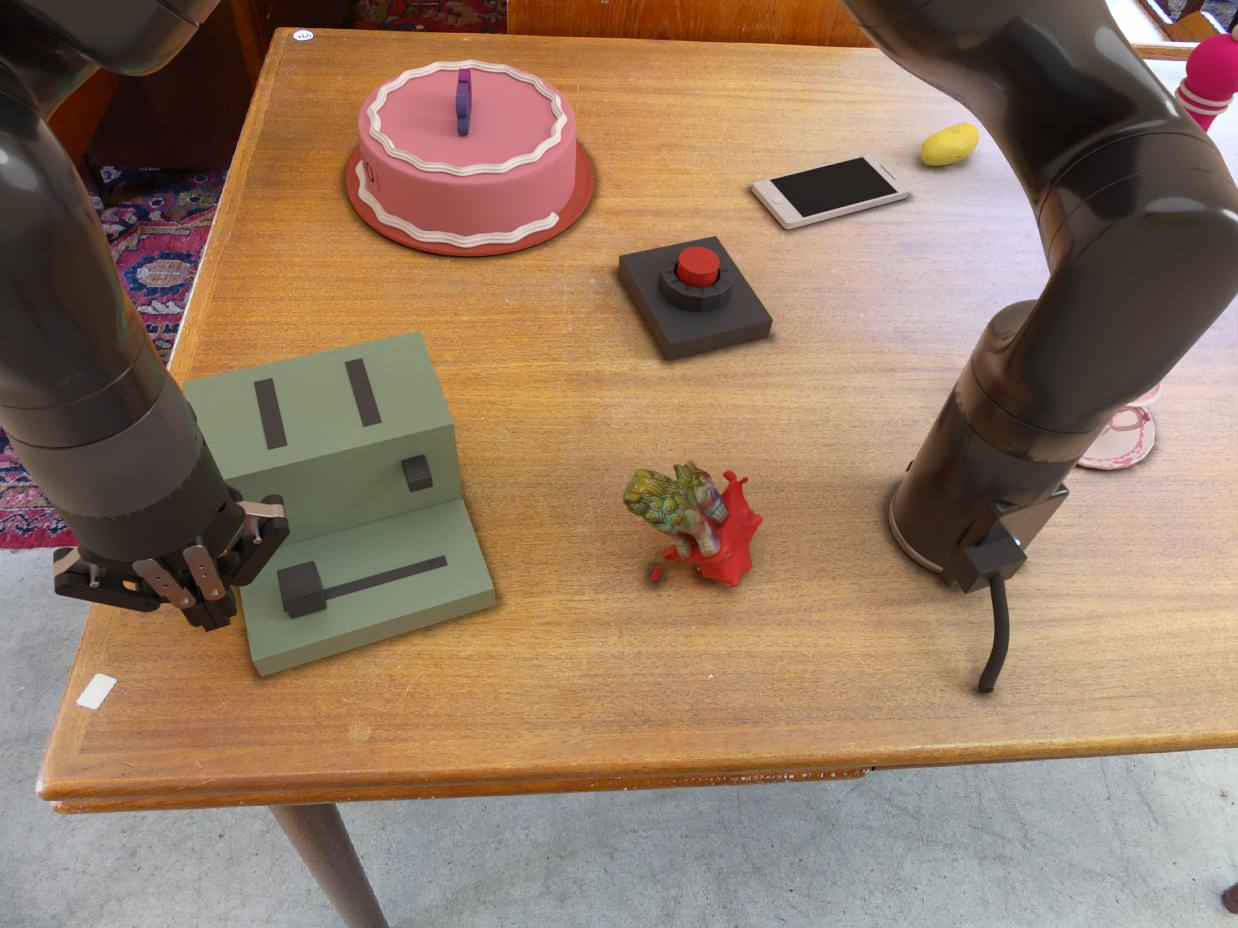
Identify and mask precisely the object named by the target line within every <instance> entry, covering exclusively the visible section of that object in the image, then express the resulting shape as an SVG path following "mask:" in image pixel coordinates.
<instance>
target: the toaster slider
mask: <svg viewBox="0 0 1238 928" xmlns="http://www.w3.org/2000/svg"><path fill="white" fill-rule="evenodd" d="M277 577H278V582H279V587H280V592H281V597H282V601H283V603H284V606H285V608H286V610H287V612H288V614H289V617H290V618H291V619H293V618H296V617H300V616H303V615H306V614H310V613H313V612H317V611H320V610H324V609H327V603H326V599H325V595H324V590H323V586H322V581H321V578H320V575H319V573H318V570H317V567H316V565H315V562H314V561H310V562H306V563H302V564H299V565H295V566H292V567H288V568H284V569H281V570H277Z"/></svg>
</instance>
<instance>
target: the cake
mask: <svg viewBox="0 0 1238 928" xmlns="http://www.w3.org/2000/svg"><path fill="white" fill-rule="evenodd" d="M576 122H577V121H576V117H575V113H574V110H573V108H572V105H570V103H569V101H568V100H567V98H566V97H565V96H564V95H563V94H562V92H560V91H559V90H558V89H557V88H556V87H555V86H554V85H552V84H551V83H550V82H548V81H546V80H545V79H542V78H541V77H539V76H537V75H536V74H533V73H531V72H528V71H525V70H522V69H521V68H520V69H519V68H517V67H512V66H511V65H509V64H503V63H501V64H500V63H493V62H485V61H481V60H477V59H467V60H466V59H465V60H457V61H436V62H432V63H431V64H426V65H422V66H418V67H415V68H412V69H409V70H408V69H407V70H405V71H403V72H401V73H399V74H396V75H395V76H393V77H391V78H389V79H387V80H385V81H384V82H382V83H381V84H379V85H378V86H377V87H375V88H374V89H373V90H372V91H371V92H370V94H369V95H368V96H367V97H366V98H365V100H364V101H363V103H362V105H361V107H360V109H359V112H358V116H357V136H358V143H359V144H358V146H357V147H356V148H355V150H354V151H353V152H352V155H351V156H350V159H349V161H348V163H347V168H346V175H345V186H346V192H347V195H348V199H349V201H350V203H351V205H352V207H353V208H354V210H355V212H357V213H356V214H358V215H359V217H361V218H362V220H363V221H364V222H365V223H366V224H368V225H369V226H370V227H371V228H372V229H374V230H375V231H377V232H379V234H381V235H383V236H385V237H386V238H388V239H391V240H393V241H395V242H396V243H398V244H402V245H404V246H407V247H410V248H412V249H416V250H419V251H424V252H429V253H434V254H438V255H445V256H456V257H457V256H458V257H482V256H483V257H485V256H493V255H501V254H507V253H513V252H517V251H521V250H524V249H528V248H530V247H534V246H536V245H538V244H541V243H544V242H546V241H548V240H550V239H552V238H554V237H556V236H557V235H559V234H561V233H562V232H563V231H565V230H566V229H568V228H570V226H571V225H572V224H574V223H575V222H576V221H577V220H578V219H579V218H580V217H581V215H582V214H583V213H584V211H585V210H586V209H587V207H588V205H589V204H590V201H591V199H592V196H593V193H594V187H595V176H594V170H593V165H592V163H591V160H590V158H589V156H588V153H587V152H586V151H585V149H584V147H583V146H582V145H581V144H580V143H579V142H578V141H577V123H576Z"/></svg>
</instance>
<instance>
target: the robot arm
mask: <svg viewBox="0 0 1238 928" xmlns="http://www.w3.org/2000/svg"><path fill="white" fill-rule="evenodd" d="M221 1H222V0H0V426H1V428H2V430H3V431H4V433H5V434H6V437H7V438H8V440H9V443H10V446H11V447H12V449H13V451H14V453H15V455H16V457H17V459H18V461H19V462H20V464H21V465H22V467H23V468H24V469H25V471H26V472H27V473H28V475H29V476H30V477H31V479H32V480H33V482H34V483H35V484H36V485H37V487H38V488H39V490H40V491H41V493H43V495H44V497H46V500H48V502H49V503H50V505H51V506H52V507H53V509H55V510H54V511H56V512H57V514H58V515H59V516H60V517H61V519H62V521H63V522H64V523H65V525H66V526H67V527H68V529H69V530H70V531H71V533H72V534H73V535H74V536H75V538H76V539H77V541H78V544H77V545H76V546H75V547H71V546H66V547H65V546H64V547H60V548H57V549H56V550H54V551H53V553H52V563H53V586H54V587H53V588H54V589H53V590H54V591H53V592H54V593H55V595H58V596H61V597H66V598H70V599H71V598H72V599H76V600H80V601H81V600H82V601H85V602H91V603H95V604H100V605H105V606H110V607H115V608H120V609H125V610H131V611H135V612H140V613H153V612H155V611H157V610H159V609H160V608H161V605H163V604H172V606H173V607H174V608H176V609H179V610H180V611H181V613H182V614H183V616H184V617H185V619H186V620H187V622H188V624H189V625H190V626H192V627H194V628H199V627H202V628H203V630H204V631H205V633H208V632H212V631H215V630H218V629H222V628H226V627H229V626H231V625H232V622H231V618H234V617H237V615H238V606H237V600H236V593H235V591H234V589H233V588H232V586H235V587H238V588H239V587H242V586H247V585H249V584H251V583H252V582H253V581H254V579H255V578H256V577H257V575H258V574H259V573H260V571H261V570H262V569H263V568H264V566H265V565H266V564H267V562H268V561H269V560H270V559H271V557H272V556H273V555H274V553H275V552H276V551H277V550H278V548H279V547H280V546H281V544H282V543H283V542H284V540H285V539H286V538H287V537H288V535H289V534H290V529H289V524H288V518H287V513H286V509H285V506H284V501H283V498H282V496H280V495H276V494H273V495H268V496H266V497H264V498H263V499H262V501H261V502H260V503H256V502H249V501H243V497H242V495H241V493H240V492H239V491H238V490H237V489H235V488H234V487H231V486H230V485H228V484H227V483H226V482H225V481H224V479H223V477H222V475H221V473H220V471H219V469H218V467H217V464H216V462H215V460H214V458H213V456H212V454H211V452H210V449H209V447H208V445H207V443H206V441H205V439H204V436H203V434H202V432H201V430H200V428H199V426H198V424H197V416H196V414H195V412H194V410H193V408H192V406H191V404H190V403H189V401H187V400H186V398H185V396H184V392H183V390H182V388H181V387H180V385H179V384H178V382H177V381H176V379H175V378H174V377H173V375H172V373H170V371H169V370H168V369H167V367H166V366H165V364H164V362H163V360H162V358H161V357H160V355H159V354H160V353H158V350H157V348H156V346H155V344H154V342H153V340H152V338H151V335H150V334H149V332H148V329H147V328H146V325H145V323H144V321H143V319H142V315H141V314H140V313H139V311H138V309H137V307H136V304H134V302H133V300H132V298H131V297H130V296H129V294H128V292H127V291H126V289H125V288H124V287H123V284H122V280H121V277H120V274H119V270H118V267H117V264H116V260H115V258H114V255H113V254H114V253H113V252H112V249H111V245H110V242H109V240H108V237H107V233H106V232H105V229H104V226H103V224H102V221H101V219H100V217H99V215H98V212H97V210H96V207H95V205H94V203H93V199H92V198H91V196H90V193H89V192H88V189H87V187H86V185H85V183H84V181H83V178H82V177H81V175H80V173H79V171H78V169H77V167H76V165H75V163H74V162H73V159H72V158H71V156H70V154H69V153H68V151H67V149H66V148H65V146H64V144H63V143H62V142H61V139H60V138H59V137H58V136H57V134H56V133H55V131H54V130H53V129H52V126H51V125H50V124H49V121H50V119H51V118H52V116H53V115H54V114H55V112H56V111H57V109H58V108H59V107H60V106H61V105H62V103H64V102H65V100H67V99H68V97H70V96H71V95H72V94H73V93H74V92H75V91H76V90H77V89H79V88H80V87H81V86H82V85H84V83H85V82H87V81H88V80H89V79H90V78H91V77H92V76H94V74H96V73H97V72H98V71H99V70H100V69H104V70H107V71H108V72H112V73H115V74H118V75H121V76H126V77H127V76H128V77H144V76H148V75H151V74H154V73H156V72H158V71H159V70H161V69H163V68H164V67H165V66H166V65H168V64H169V63H170V62H171V61H172V60H174V58H175V57H176V56H177V55H178V54H179V53H180V52H181V50H183V49H184V47H185V46H186V45H187V44H188V43H189V42H190V40H191V39H192V38H193V36H194V35H195V34H196V32H197V31H198V30H199V28H200V24H204V23H205V21H206V20H207V19H208V18H209V16H210V15H211V13H212V12H213V11H214V10H215V8H216V7H217V6H218V4H220V2H221ZM836 2H837V3H838V4H839V6H840V7H841V8H842V9H843V11H844V12H845V13H846V15H848V17H849V18H850V19H851V21H852V22H853V23H854V24H855V25H856V27H857V28H858V29H859V30H860V31H861V32H862V33H863V35H864V36H866V38H867V39H868V40H869V41H870V42H871V43H872V44H873V45H874V46H875V47H876V48H877V49H879V50H880V52H882V53H883V54H884V55H885V56H886V57H887V58H888V59H889V60H890V61H892V62H893V63H895V64H896V65H897V66H899V67H900V68H901V69H903V70H904V71H905V72H907V73H909V74H911V75H912V76H913V77H915V78H917V79H919V80H921V81H922V82H923V83H925V84H927V85H928V86H930V87H932V88H934V89H935V90H938V91H939V92H941V93H943V94H944V95H946V96H948V97H949V98H951V99H952V100H954V101H956V102H958V103H959V104H960V105H962V106H963V107H964V108H965V109H966V110H967V111H969V112H970V113H971V114H972V115H973V116H974V117H975V118H976V119H977V120H978V122H980V124H981V126H983V128H984V129H985V130H986V132H987V133H988V134H989V136H990V137H991V138H992V140H993V141H994V144H996V146H997V147H998V149H999V150H1000V152H1001V154H1002V155H1003V157H1004V158H1005V160H1006V162H1007V163H1008V165H1009V166H1010V168H1011V170H1012V171H1013V174H1014V175H1015V177H1016V179H1017V180H1018V182H1019V184H1020V186H1021V188H1022V190H1023V192H1024V194H1025V196H1026V198H1027V200H1028V203H1029V205H1030V207H1031V209H1032V213H1033V216H1034V219H1035V224H1036V226H1037V230H1038V233H1039V239H1040V243H1041V246H1042V250H1043V253H1044V257H1045V261H1046V265H1047V268H1048V271H1049V278H1048V280H1047V282H1046V283H1045V286H1044V288H1043V289H1042V292H1041V293H1040V295H1039V297H1038V298H1032V299H1026V300H1021V301H1016V302H1014V303H1011V304H1009V305H1006V306H1005V307H1004V308H1001V310H999V311H998V312H997V313H995V315H993V317H992V318H991V319H990V321H988V323H987V325H986V326H985V328H984V330H983V331H982V332H981V333H982V334H981V335H980V337H979V339H978V341H977V342H976V344H975V347H974V349H973V350H972V352H971V353H970V356H969V358H968V360H967V362H966V363H965V365H964V367H963V369H962V371H961V373H960V375H959V376H958V378H957V380H956V382H955V383H954V386H953V387H952V389H951V391H950V393H949V394H948V397H947V399H946V400H945V402H944V404H943V406H942V407H941V409H940V412H939V413H938V415H937V417H936V418H935V421H934V423H932V426H931V427H930V429H929V431H928V434H927V435H926V437H925V439H924V440H923V443H922V445H921V446H920V448H919V450H918V452H917V453H916V455H915V458H914V459H913V460H911V461H910V462H909V464H908V465H907V467H906V469H905V472H904V473H906V475H905V477H904V478H903V480H902V482H901V484H900V485H899V486H898V488H897V489H896V491H895V493H894V495H893V496H892V498H891V500H890V502H889V506H888V524H889V527H890V530H891V533H892V535H893V537H894V539H895V541H896V542H897V544H898V545H899V547H900V548H901V549H902V550H903V551H904V552H905V554H907V555H908V556H909V557H910V558H911V559H912V560H913V561H914V562H916V563H917V564H918V565H920V566H922V567H923V568H925V569H927V570H929V571H931V572H933V573H936V574H938V575H939V576H940V578H942V579H943V581H944V583H945V584H946V585H947V586H949V587H952V586H955V585H958V586H959V588H960V589H961V591H962V592H963V594H964V595H968V594H972V593H973V592H977V591H980V590H982V589H986V588H989V592H990V600H991V605H992V613H993V614H992V615H993V641H992V647H991V651H990V654H989V657H988V659H987V662H986V664H985V666H984V668H983V670H982V673H981V674H980V677H979V679H978V683H977V691H978V692H979V693H980V694H990V693H993V692H994V687H995V684H996V683H997V680H998V677H999V675H1000V673H1001V671H1002V670H1003V669H1002V668H1003V666H1004V664H1005V661H1006V658H1007V655H1008V651H1009V644H1010V631H1011V630H1010V628H1011V627H1010V626H1011V625H1010V613H1009V605H1008V599H1007V592H1006V591H1007V590H1006V584H1005V581H1009V580H1010V579H1012V578H1014V576H1015V574H1016V573H1017V572H1018V571H1019V569H1020V568H1021V567H1022V566H1023V565H1024V563H1025V562H1026V561H1027V560H1028V556H1027V555H1026V553H1025V551H1026V549H1027V548H1028V547H1029V546H1030V545H1031V543H1032V542H1033V540H1035V538H1036V537H1037V536H1038V534H1040V532H1041V530H1043V528H1044V527H1045V526H1046V524H1047V523H1048V522H1049V520H1050V519H1051V518H1052V517H1053V515H1055V513H1056V512H1057V510H1058V509H1059V508H1060V507H1061V505H1062V504H1063V503H1064V502H1065V501H1066V499H1067V498H1068V497H1069V495H1070V490H1069V488H1068V487H1067V485H1066V484H1065V483H1064V481H1065V480H1066V478H1067V477H1068V476H1069V475H1070V473H1071V472H1072V471H1073V469H1074V468H1075V467H1076V466H1077V465H1078V464H1077V463H1078V462H1079V460H1080V459H1081V458H1082V456H1083V455H1084V454H1085V452H1086V451H1087V450H1088V449H1089V447H1090V446H1091V445H1092V444H1093V442H1094V441H1095V440H1096V438H1097V437H1098V436H1099V435H1100V433H1101V432H1102V431H1103V429H1104V428H1105V427H1106V426H1107V424H1108V423H1109V422H1110V420H1111V419H1112V418H1113V417H1114V416H1115V414H1116V413H1117V412H1118V411H1119V409H1120V408H1122V407H1123V406H1125V405H1127V404H1129V403H1131V402H1132V401H1134V400H1136V399H1138V398H1139V397H1141V396H1143V395H1144V394H1146V393H1147V392H1148V391H1150V390H1151V389H1152V388H1154V387H1155V386H1156V385H1157V384H1158V383H1159V382H1160V381H1161V380H1162V379H1164V378H1165V377H1166V376H1167V375H1168V374H1169V373H1170V372H1171V371H1172V370H1173V368H1174V367H1175V366H1176V365H1177V364H1178V363H1179V362H1180V361H1181V360H1182V358H1183V357H1184V356H1185V355H1187V353H1188V352H1189V351H1190V350H1191V349H1192V348H1193V346H1194V345H1195V344H1196V343H1197V342H1198V341H1199V340H1200V339H1201V338H1202V337H1203V335H1204V334H1205V333H1206V332H1207V331H1208V330H1209V329H1210V327H1212V325H1214V323H1215V322H1216V321H1217V320H1218V319H1219V317H1220V316H1221V315H1223V313H1224V312H1225V310H1226V309H1227V308H1228V307H1229V306H1230V304H1231V303H1232V302H1233V300H1234V299H1235V298H1236V296H1237V295H1238V186H1237V185H1236V182H1235V180H1234V178H1233V176H1232V174H1231V172H1230V170H1229V168H1228V166H1227V164H1226V161H1225V160H1224V158H1223V155H1222V153H1221V152H1220V149H1219V148H1218V146H1217V145H1216V143H1215V142H1214V141H1213V139H1212V138H1211V137H1210V136H1209V134H1208V132H1207V133H1206V132H1205V131H1204V130H1203V129H1202V128H1201V127H1200V125H1199V124H1198V123H1197V122H1196V121H1195V120H1194V119H1193V118H1192V116H1191V115H1190V114H1189V113H1188V112H1187V111H1186V110H1185V109H1184V107H1183V106H1182V105H1181V104H1180V103H1179V102H1178V101H1177V100H1176V98H1175V95H1173V94H1172V93H1171V92H1170V90H1169V89H1168V88H1167V87H1166V86H1165V85H1164V83H1163V82H1162V81H1161V80H1160V79H1159V78H1158V76H1157V75H1156V74H1155V73H1154V71H1153V70H1152V69H1151V68H1150V66H1149V65H1148V64H1147V62H1146V61H1145V60H1144V59H1143V58H1142V56H1141V55H1140V54H1139V53H1138V51H1137V50H1136V49H1135V48H1134V46H1133V45H1132V44H1131V42H1130V41H1129V39H1128V38H1127V37H1126V35H1125V34H1124V32H1123V31H1122V29H1121V28H1120V26H1119V25H1118V23H1117V21H1116V19H1115V17H1114V16H1113V14H1112V13H1111V10H1110V8H1109V5H1108V4H1107V1H1106V0H836ZM242 524H243V527H242V528H241V530H240V531H239V532H238V534H237V535H236V536H235V534H236V533H237V531H238V530H239V528H240V527H241V525H242ZM234 536H235V538H234V539H233V537H234ZM232 539H233V541H232V542H231V540H232ZM230 542H231V543H230ZM229 543H230V545H229ZM228 545H229V546H228ZM225 551H226V553H225ZM124 582H127V583H132V584H134V588H135V589H131V588H128V587H126V585H125V584H124Z"/></svg>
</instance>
